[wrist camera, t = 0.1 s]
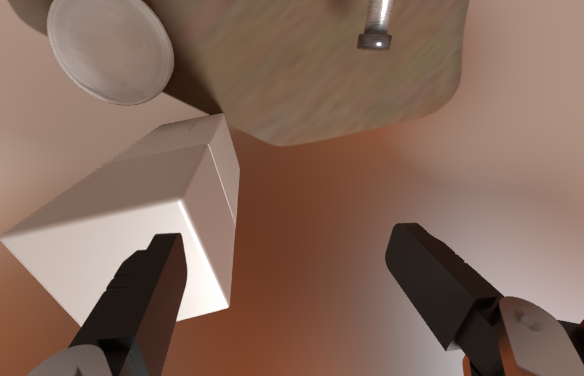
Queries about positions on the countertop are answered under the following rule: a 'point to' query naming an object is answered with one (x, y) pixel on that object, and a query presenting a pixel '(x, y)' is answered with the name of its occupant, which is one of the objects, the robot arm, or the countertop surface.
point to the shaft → (377, 26)
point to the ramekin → (111, 48)
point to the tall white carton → (140, 218)
